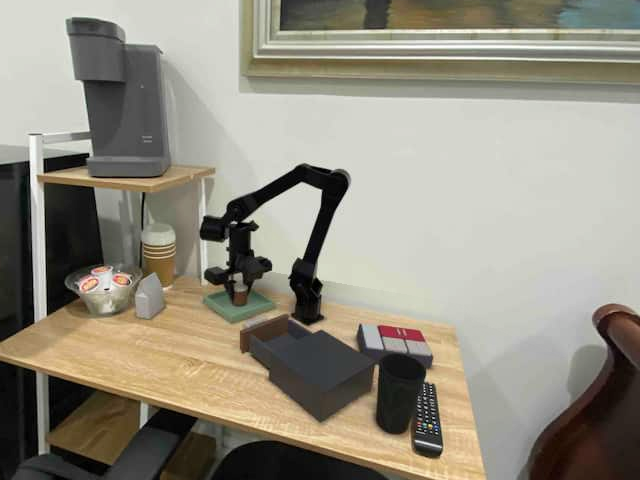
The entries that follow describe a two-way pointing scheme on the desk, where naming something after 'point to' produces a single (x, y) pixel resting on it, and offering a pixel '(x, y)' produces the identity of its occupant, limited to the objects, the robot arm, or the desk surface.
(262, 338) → the drawer
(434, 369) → the desk surface
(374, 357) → the red and grey box
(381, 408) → the cup
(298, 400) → the dark grey box
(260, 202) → the robot arm
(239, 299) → the pod
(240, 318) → the tray
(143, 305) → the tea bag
